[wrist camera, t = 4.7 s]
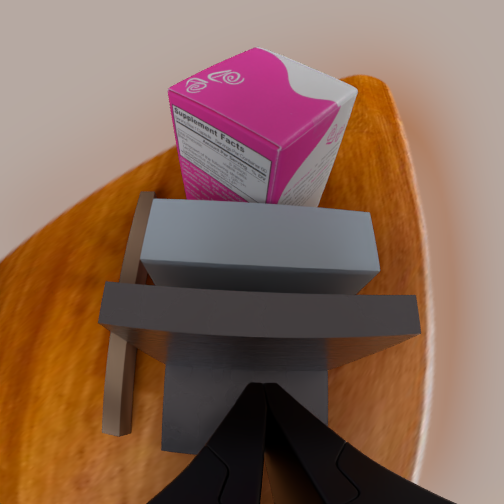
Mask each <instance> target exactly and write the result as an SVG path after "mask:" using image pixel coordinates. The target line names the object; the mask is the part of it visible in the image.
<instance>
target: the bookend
mask: <svg viewBox="0 0 504 504" xmlns="http://www.w3.org/2000/svg"><path fill="white" fill-rule="evenodd" d="M98 323H99V324H100V325H102V326H103V327H105V328H106V329H108V330H109V331H111V332H112V333H114V334H116V335H117V336H119V337H120V338H122V339H123V340H125V341H127V342H128V343H130V344H131V345H133V346H135V347H136V348H138V349H140V350H141V351H143V352H145V353H146V354H148V355H150V356H151V357H153V358H155V359H157V360H158V361H160V362H162V363H164V364H165V365H166V369H165V383H164V399H163V418H162V447H161V450H162V451H169V452H177V453H185V454H195V455H197V454H198V453H199V452H200V450H201V449H202V448H203V446H205V444H206V443H207V441H208V440H209V439H210V437H211V436H212V435H213V433H214V432H215V430H216V429H217V428H218V426H219V425H220V423H221V422H222V421H223V419H224V418H225V416H226V415H227V413H228V412H229V411H230V409H231V408H232V406H233V405H234V403H235V402H236V400H237V399H238V398H239V396H240V395H241V393H242V392H243V390H244V389H245V387H246V386H247V384H248V383H249V382H260V383H262V384H263V383H277V384H279V385H280V386H281V387H282V388H283V389H284V390H285V391H287V392H288V393H289V394H290V395H291V396H292V397H293V398H295V399H296V400H297V401H298V402H299V403H300V404H301V405H303V406H304V407H305V408H306V409H307V410H309V411H310V412H311V413H312V414H313V415H314V416H316V417H317V418H318V419H319V420H320V421H322V422H323V423H324V424H325V425H327V426H328V370H330V369H333V368H336V367H339V366H342V365H345V364H347V363H350V362H353V361H356V360H358V359H361V358H364V357H366V356H369V355H371V354H374V353H376V352H379V351H381V350H384V349H386V348H389V347H391V346H394V345H396V344H398V343H401V342H403V341H405V340H408V339H410V338H412V337H414V336H417V335H419V334H421V329H420V321H419V314H418V307H417V300H416V295H334V294H297V293H270V292H248V291H228V290H211V289H195V288H180V287H166V286H153V285H140V284H129V283H117V282H107V281H106V283H105V288H104V293H103V298H102V303H101V309H100V315H99V321H98Z"/></svg>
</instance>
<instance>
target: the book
mask: <svg viewBox="0 0 504 504" xmlns="http://www.w3.org/2000/svg"><path fill="white" fill-rule="evenodd" d="M140 260H141V261H142V263H143V265H144V267H145V268H146V270H147V272H148V274H149V275H150V277H151V279H152V280H153V282H154V284H155V285H156V286H166V287H180V288H195V289H211V290H228V291H248V292H270V293H297V294H334V295H356V294H357V293H358V292H359V291H360V290H361V289H362V288H363V287H364V286H365V285H366V284H367V283H368V282H369V281H371V280H372V279H373V278H374V277H375V276H376V275H377V274H378V273H379V272H380V265H379V259H378V253H377V247H376V242H375V236H374V231H373V226H372V221H371V216H370V213H369V212H360V211H350V210H339V209H329V208H317V207H305V206H293V205H279V204H264V203H248V202H230V201H209V200H183V199H153V202H152V206H151V210H150V215H149V219H148V223H147V228H146V232H145V237H144V242H143V246H142V251H141V256H140Z"/></svg>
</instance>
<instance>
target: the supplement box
mask: <svg viewBox="0 0 504 504" xmlns="http://www.w3.org/2000/svg"><path fill="white" fill-rule="evenodd" d="M357 93H358V90H357V89H356V88H355V87H353V86H351V85H349V84H347V83H345V82H342V81H340V80H338V79H336V78H334V77H332V76H330V75H327V74H325V73H322V72H320V71H318V70H316V69H313V68H311V67H309V66H306V65H304V64H301V63H299V62H297V61H294V60H292V59H289V58H287V57H284V56H282V55H280V54H277V53H274V52H272V51H269V50H266V49H263V48H260V47H255V48H253V49H250V50H248V51H245V52H243V53H241V54H238V55H236V56H234V57H231V58H229V59H227V60H224V61H222V62H220V63H218V64H215V65H213V66H211V67H209V68H207V69H205V70H203V71H201V72H199V73H197V74H195V75H193V76H191V77H189V78H187V79H185V80H183V81H181V82H179V83H177V84H176V85H173V86H171V87H170V88H169V89H168V96H169V102H170V109H171V115H172V121H173V127H174V133H175V139H176V145H177V151H178V156H179V161H180V166H181V172H182V177H183V182H184V187H185V192H186V197H187V200H209V201H230V202H248V203H264V204H279V205H293V206H305V207H318V204H319V201H320V198H321V196H322V193H323V191H324V188H325V185H326V183H327V180H328V177H329V174H330V172H331V169H332V166H333V163H334V161H335V158H336V155H337V152H338V149H339V146H340V143H341V140H342V137H343V134H344V131H345V128H346V126H347V123H348V120H349V117H350V114H351V111H352V107H353V104H354V101H355V98H356V95H357Z"/></svg>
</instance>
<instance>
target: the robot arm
mask: <svg viewBox="0 0 504 504" xmlns="http://www.w3.org/2000/svg"><path fill="white" fill-rule="evenodd" d="M264 459H265V463H266V468H267V473H268V477H269V482H270V486H271V491H272V496H273V500H274V504H456V503H454V502H452V501H449V500H447V499H445V498H443V497H441V496H438V495H437V494H434V493H432V492H430V491H428V490H426V489H424V488H422V487H420V486H418V485H416V484H414V483H412V482H410V481H409V480H407V479H405V478H403V477H401V476H399V475H397V474H395V473H394V472H392V471H390V470H388V469H386V468H385V467H383V466H381V465H380V464H378V463H377V462H375V461H373V460H372V459H370V458H369V457H367V456H366V455H364V454H363V453H362V452H360V451H359V450H357V449H356V448H355V447H354V446H352V445H351V444H350V443H348V442H346V441H345V440H344V439H343V438H341V437H340V436H339V435H338V434H336V433H335V432H334V431H333V430H331V429H330V428H329V427H328V426H327V425H325V424H324V423H323V422H322V421H320V420H319V419H318V418H317V417H316V416H314V415H313V414H312V413H311V412H310V411H309V410H307V409H306V408H305V407H304V406H303V405H301V404H300V403H299V402H298V401H297V400H296V399H295V398H293V397H292V396H291V395H290V394H289V393H288V392H287V391H285V390H284V389H283V388H282V387H281V386H280V385H279V384H277V383H263V384H262V383H260V382H249V383H248V384H247V386H246V387H245V389H244V390H243V392H242V393H241V395H240V396H239V398H238V399H237V400H236V402H235V403H234V405H233V406H232V408H231V409H230V411H229V412H228V413H227V415H226V416H225V418H224V419H223V421H222V422H221V423H220V425H219V426H218V428H217V429H216V430H215V432H214V433H213V435H212V436H211V437H210V439H209V440H208V441H207V443H206V444H205V446H203V448H202V449H201V450H200V452H199V453H198V454H197V456H196V457H195V458H194V459H193V460H192V462H191V463H190V464H189V465H188V466H187V467H186V468H185V469H184V470H183V471H182V472H181V473H180V474H179V475H178V476H177V477H176V478H175V479H174V480H173V481H172V482H171V483H170V484H168V485H167V486H166V487H165V488H164V489H163V490H162V491H161V492H159V493H158V494H157V495H156V496H155V497H154V498H152V499H151V500H150V501H149V502H148V503H146V504H260V499H261V488H262V476H263V464H264Z"/></svg>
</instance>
